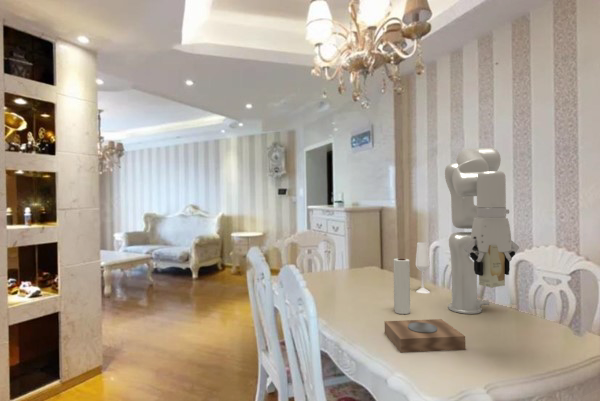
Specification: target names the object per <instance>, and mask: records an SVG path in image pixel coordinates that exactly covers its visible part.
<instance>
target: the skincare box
mask: <svg viewBox="0 0 600 401" xmlns="http://www.w3.org/2000/svg"><path fill="white" fill-rule="evenodd" d="M481 262H483V276H480V275H478V285H479V286H482V287H487V288H490V289H492V288H497V287H504V286H505V285H506V274H505V255H504V253H501V252H499V251H498V248H497V245H489V250H488V252H487V253H485V254H484V256H483V258H482V260H481Z"/></svg>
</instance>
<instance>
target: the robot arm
mask: <svg viewBox="0 0 600 401" xmlns="http://www.w3.org/2000/svg"><path fill="white" fill-rule="evenodd" d="M456 156H457V157H456V162H452V163H449V164H447V166H446V167H445V168H444V180H445V183H446V185H447V188H448V191H449V193H450V194H449V195H450V198H451V201H450V203H451V204H450V206H451V221H452V226H454V228H457V229H463V230H465V229H467V230H470V229H471V231H458V232H457V231H456V232H454V233H452V234H450V236H449V238H448V246H449V252H450V261H451V262H450V265H451V267H450V268H451V271H450V272H451V302H450V303H449V304H447V309H448V310H450V311H452V312H455V313H459V314H467V315H476V314H480V313H481V312H483V310H482V307H481V306H489V305H490V301H489V300H487V299H485V300H483V299H479V298H478V276H479V275H480V276H483V262H481V260H482V258H483V256H484V254H485V253H487V252H488V250H489V245H497V248H498V251H499V252H501V253H504V255H505V276H509V275H510V271H511V270H510V268H511V267H510V265H511V264H510V262H511V261H513V260H512V259H513V257H514V256H515V255H516V253H517V252H518V250H520V246H519V245H518V244H517V243H515V242H514V241H513V240H512V233H511V226H510V223H509V219H508V218H507V215H509V214H510V209H507V194H506V193H507V191H506V190H507V188H506V187H507V186H506V181H507V180H506V174H505V172H503V171H501V170H499V168H500V166H501V155H500V153H499V151H498V150H497V149H496V148H495V147H482V148H481V147H480V148H478V147H477V148H466V149H463V150H461V151H460V152H459V153H458V154H457V155H456ZM474 197H476V204H475V201H474V200H475V199H474Z"/></svg>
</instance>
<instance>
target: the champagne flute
mask: <svg viewBox="0 0 600 401" xmlns="http://www.w3.org/2000/svg"><path fill="white" fill-rule="evenodd" d="M415 252H416V255H415V267H416V268H417V270H419V271H420V273H421V287H420V288H419V289H417V290H416V291H415V292H416V293H417V294H430V293H431V291H429V290H428V289H427V288H425V272H426V271H428V269H429V268H430V266H431V264H430V263H431V262H430V254H429V253H430V252H429V245H428V242H426V241H418V242H417V243H416V251H415Z"/></svg>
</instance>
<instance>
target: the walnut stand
mask: <svg viewBox="0 0 600 401" xmlns="http://www.w3.org/2000/svg"><path fill="white" fill-rule="evenodd" d="M384 334H385V335H386V336H387V338H388V339H389V340H390V341H391V342H392V344H393V345H394V346H395V347H396V349H398V351H399V352H400V353H411V352H412V353H415V352H438V351H461V350H467V349H466V335H464V334H463V333H461V331H458V329H456V328H455V327H453V326H452V325H450V324H449V323H447V322H446V321H445V320H443V319H441V318H437V319H434V318H433V319H432V318H431V319H430V318H429V319H411V320H410V319H409V320H408V319H405V320H385V321H384Z"/></svg>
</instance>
